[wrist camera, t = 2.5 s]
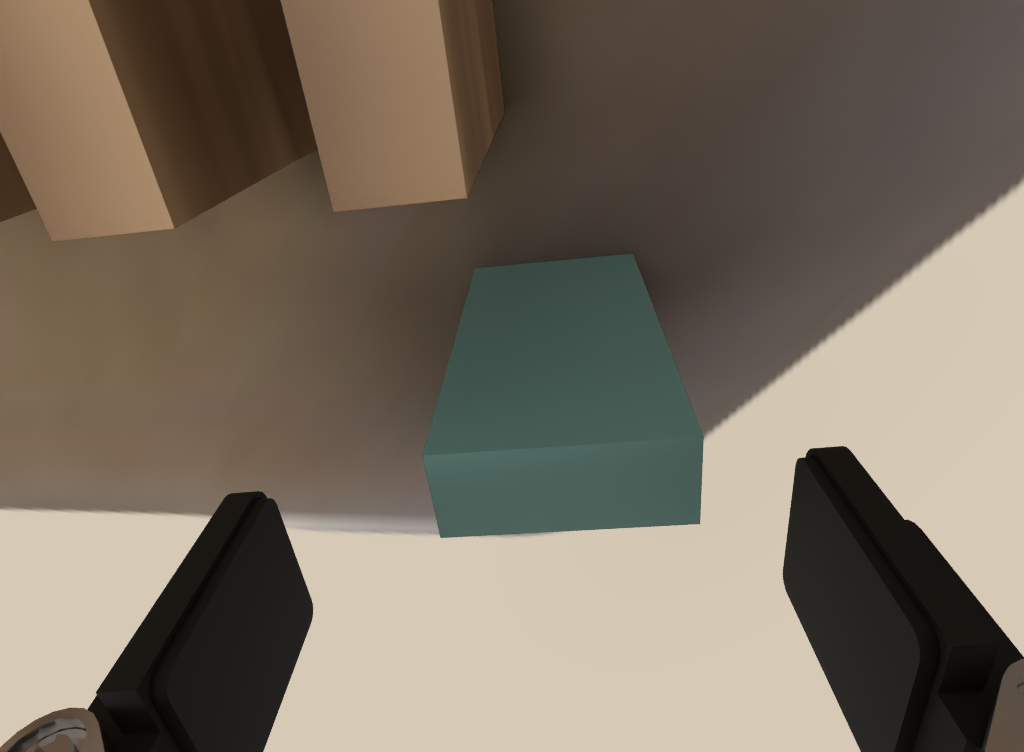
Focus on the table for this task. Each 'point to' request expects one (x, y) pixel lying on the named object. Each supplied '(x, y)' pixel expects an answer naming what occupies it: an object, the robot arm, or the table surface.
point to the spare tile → (562, 407)
